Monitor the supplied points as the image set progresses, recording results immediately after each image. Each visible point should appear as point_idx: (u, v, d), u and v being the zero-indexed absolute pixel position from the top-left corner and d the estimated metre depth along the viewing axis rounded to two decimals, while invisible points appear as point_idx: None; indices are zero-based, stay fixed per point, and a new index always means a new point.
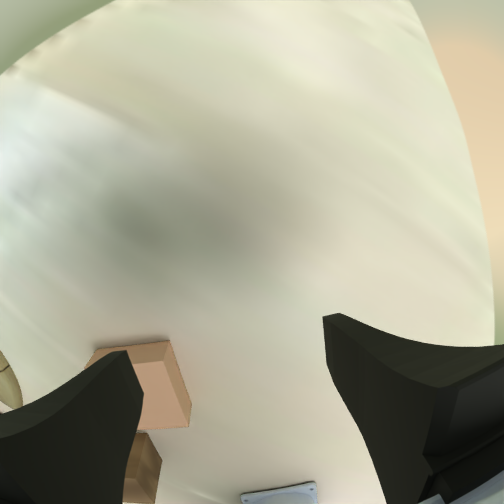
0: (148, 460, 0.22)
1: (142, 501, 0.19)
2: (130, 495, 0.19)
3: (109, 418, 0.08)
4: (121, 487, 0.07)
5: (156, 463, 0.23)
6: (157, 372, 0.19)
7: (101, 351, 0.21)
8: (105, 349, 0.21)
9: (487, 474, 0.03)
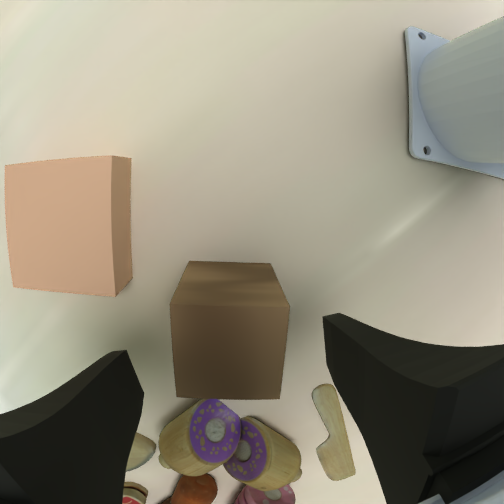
0: (215, 275, 0.14)
1: (276, 332, 0.11)
2: (248, 349, 0.11)
3: (109, 418, 0.08)
4: (121, 487, 0.07)
5: (251, 270, 0.15)
6: (16, 177, 0.11)
7: None
8: None
9: (487, 474, 0.03)
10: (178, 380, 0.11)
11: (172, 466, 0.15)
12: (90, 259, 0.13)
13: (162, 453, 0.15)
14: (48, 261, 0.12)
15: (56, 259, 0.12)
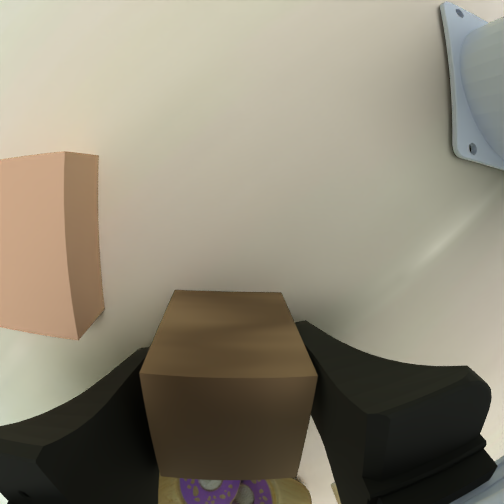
0: (208, 316, 0.10)
1: (296, 407, 0.07)
2: (256, 429, 0.07)
3: (144, 417, 0.08)
4: (156, 488, 0.07)
5: (256, 305, 0.11)
6: None
7: None
8: None
9: (435, 503, 0.03)
10: (161, 460, 0.07)
11: None
12: (43, 291, 0.09)
13: None
14: None
15: (6, 289, 0.09)
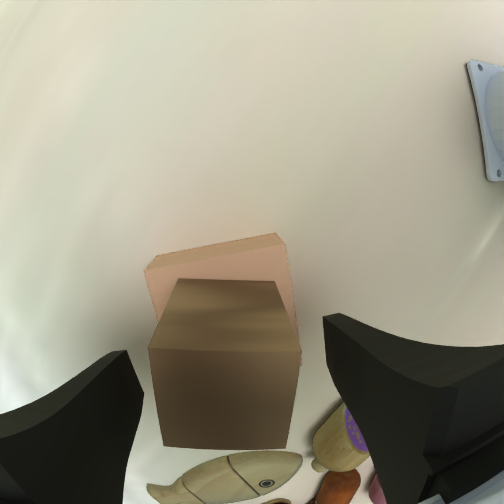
0: (208, 301, 0.11)
1: (284, 380, 0.08)
2: (249, 399, 0.08)
3: (109, 418, 0.08)
4: (121, 487, 0.07)
5: (251, 292, 0.12)
6: (166, 282, 0.13)
7: None
8: None
9: (487, 474, 0.03)
10: (164, 430, 0.09)
11: (334, 467, 0.16)
12: None
13: (322, 459, 0.17)
14: None
15: None
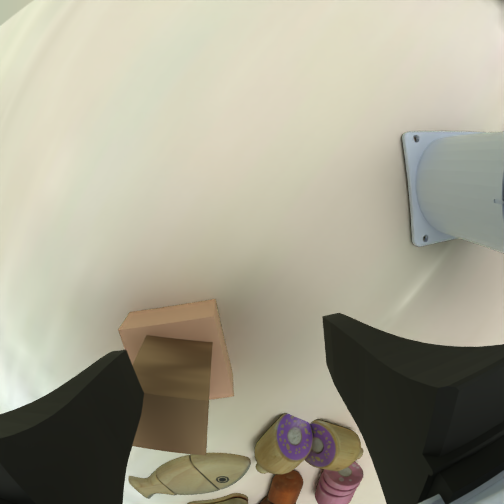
0: (162, 357, 0.16)
1: (199, 414, 0.13)
2: (179, 423, 0.13)
3: (109, 418, 0.08)
4: (121, 487, 0.07)
5: (193, 351, 0.17)
6: (133, 337, 0.18)
7: None
8: None
9: (487, 474, 0.03)
10: None
11: (270, 470, 0.21)
12: (211, 379, 0.19)
13: (260, 463, 0.21)
14: None
15: None
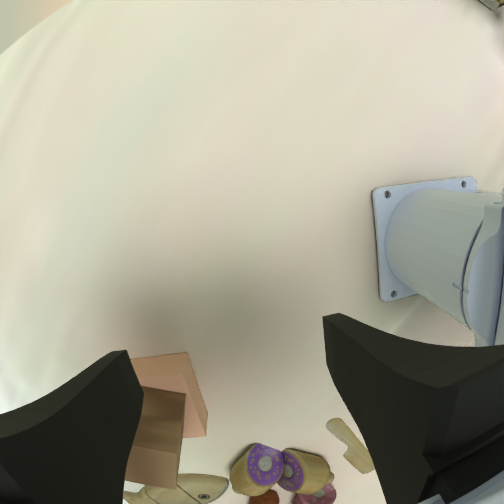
0: None
1: (169, 462, 0.14)
2: (153, 466, 0.14)
3: (109, 418, 0.08)
4: (121, 487, 0.07)
5: (167, 403, 0.18)
6: None
7: None
8: None
9: (487, 474, 0.03)
10: None
11: (242, 493, 0.22)
12: (185, 422, 0.20)
13: (234, 486, 0.22)
14: None
15: None
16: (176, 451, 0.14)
